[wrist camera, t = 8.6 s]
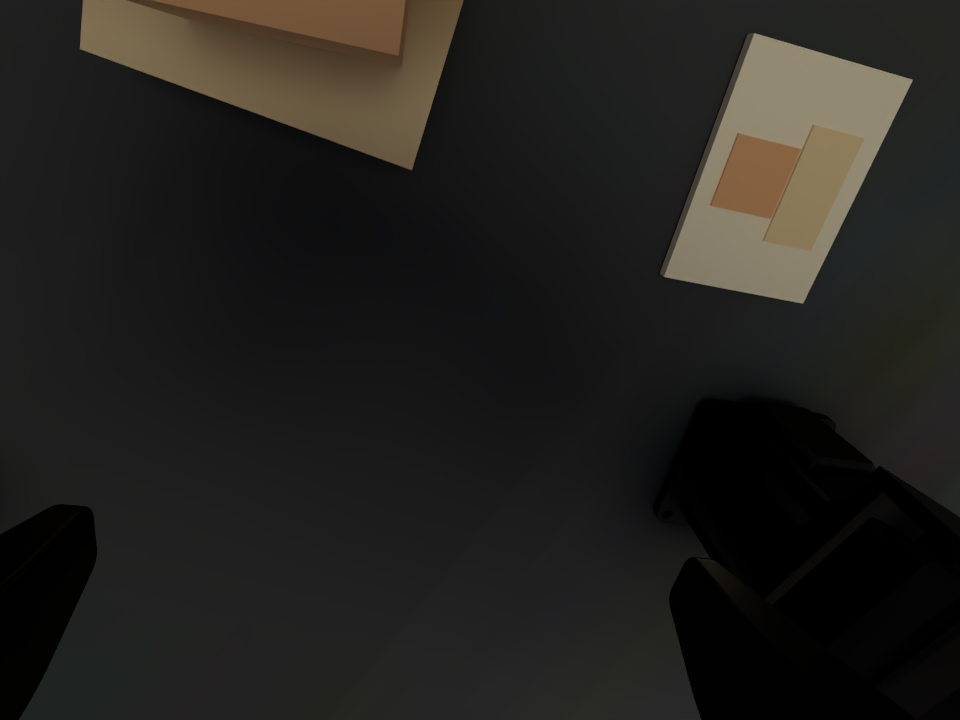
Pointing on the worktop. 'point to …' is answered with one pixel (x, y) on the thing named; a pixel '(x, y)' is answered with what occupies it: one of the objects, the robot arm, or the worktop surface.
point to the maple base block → (288, 72)
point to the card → (781, 169)
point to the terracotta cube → (308, 22)
